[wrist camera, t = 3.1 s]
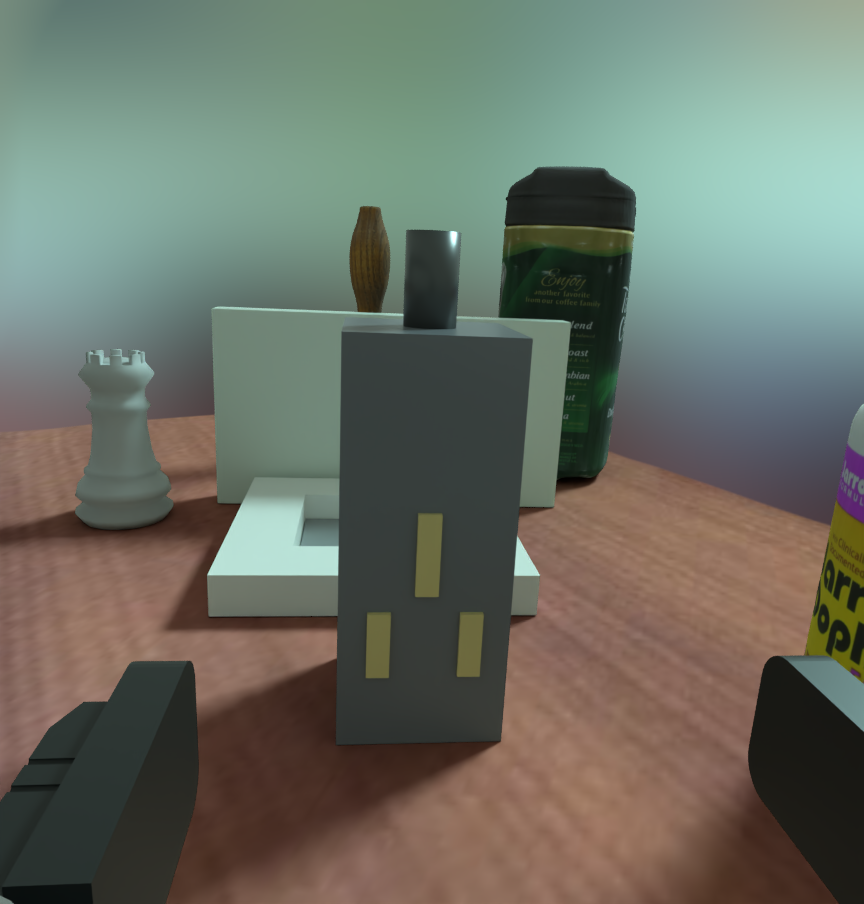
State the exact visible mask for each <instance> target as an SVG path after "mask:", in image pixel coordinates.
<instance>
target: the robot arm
mask: <svg viewBox="0 0 864 904" xmlns="http://www.w3.org/2000/svg"><path fill="white" fill-rule="evenodd" d="M748 762H749V770H750V774H751V778H752V781H753V784H754V787H755V789H756V791H757V793H758V795H759V797H760V798H761V800H762V801H763V802H764V804H765V805H766V806H767V808H768V809H769V810H770V812H771V813H772V814H773V816H774V817H775V818H776V820H777V821H778V823H779V824H780V825H781V827H782V828H783V829H784V831H785V832H786V833H787V835H788V836H789V837H790V839H791V840H792V841H793V843H794V844H795V845H796V847H797V848H798V849H799V851H800V852H801V853H802V855H803V856H804V857H805V859H806V860H807V861H808V863H809V864H810V865H811V867H812V868H813V869H814V871H815V872H816V873H817V875H818V876H819V877H820V879H821V880H822V881H823V883H824V884H825V885H826V887H827V888H828V889H829V891H830V892H831V893H832V895H833V896H834V897H835V899H836V900H837V901H838V903H839V904H864V684H863V683H862V682H861V681H859V680H858V679H857V678H856V677H855V676H853V675H852V674H851V673H850V672H849V671H847V670H846V669H845V668H844V667H843V666H841V665H840V664H839V663H838V662H837V661H835V660H834V659H833V658H831V657H829V656H824V655H811V656H773V657H771V658H770V659H769V660H768V661H767V662H766V664H765V666H764V668H763V672H762V677H761V683H760V688H759V694H758V699H757V705H756V710H755V716H754V721H753V727H752V733H751V738H750V744H749V750H748ZM198 769H199V760H198V736H197V712H196V688H195V672H194V667H193V664H192V662H191V661H135V662H131V663H130V664H129V666H128V667H127V669H126V671H125V672H124V674H123V676H122V678H121V679H120V681H119V683H118V685H117V686H116V688H115V690H114V692H113V693H112V695H111V697H110V699H109V700H108V702H83V703H82V704H80V705H79V706H78V707H77V708H75V709H74V710H73V711H71V712H70V713H69V714H67V715H66V716H65V717H63V718H62V719H61V720H59V721H58V722H57V723H55V724H54V725H53V726H51V727H50V728H49V729H48V731H47V732H46V734H45V735H44V737H43V738H42V740H41V741H40V743H39V744H38V746H37V747H36V749H35V750H34V752H33V753H32V755H31V756H30V758H29V763H28V765H24V767H23V768H22V770H21V771H20V773H19V774H18V776H17V777H16V779H15V780H14V782H13V783H12V785H11V791H10V792H7V793H6V794H5V796H4V797H3V799H2V800H1V802H0V904H166V900H167V897H168V894H169V890H170V887H171V884H172V880H173V877H174V874H175V870H176V867H177V864H178V861H179V857H180V854H181V851H182V847H183V844H184V841H185V837H186V834H187V831H188V827H189V824H190V821H191V818H192V814H193V810H194V805H195V800H196V793H197V785H198Z"/></svg>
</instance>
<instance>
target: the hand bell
mask: <svg viewBox="0 0 864 904" xmlns="http://www.w3.org/2000/svg"><path fill="white" fill-rule="evenodd" d="M389 271H390V247H389V242H388V237H387V233H386V230H385V227H384V224H383V220H382V216H381V209H380V208H379V207H373V206H371V207H370V206H363V207H360V212H359V216H358V220H357V224H356V227H355V229H354V232H353V236H352V240H351V246H350V274H351V282H352V286H353V290H354V294H355V297H356V302H357V308H358V312H367V313H381V310H382V303H383V299H384V295H385V292H386V289H387V285H388V279H389Z"/></svg>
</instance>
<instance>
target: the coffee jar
mask: <svg viewBox="0 0 864 904" xmlns="http://www.w3.org/2000/svg"><path fill="white" fill-rule="evenodd" d="M506 200H507V208H506V218H505V225H506V227H505V231H504V245H503V259H502V275H501V288H500V303H499V316H498V318H518V319H543V320H563V321H567V322H570V323H571V329H570V339H569V350H568V361H567V372H566V382H565V393H564V404H563V415H562V426H561V436H560V447H559V458H558V469H557V479H556V480H558V479H560V478H564V477H583V478H590V477H594V476H596V475H597V474H598V473H599V472H600V471H601V470H602V469H603V467H604V466H605V464H606V461H607V456H608V448H609V441H610V434H611V426H612V419H613V411H614V401H615V392H616V385H617V377H618V370H619V363H620V355H621V348H622V341H623V333H624V325H625V317H626V307H627V300H628V290H629V282H630V271H631V259H632V248H633V238H634V234H633V232H634V225H635V215H636V207H635V205H636V197H635V192H634V191H633V190H632V189H631V188H630V187H629V186H627V185H626V184H624V183H622V182H621V181H619V180H617V179H616V178H614V177H612V176H611V175H609V173H608V172H607V171H606V170H605V169H603V168H592V167H538V168H537V169H535V170H534V172H533V173H532V174H530V175H528V176H526V177H525V178H523V179H521V180H520V181H518V182H516V183H515V184H514V185H513V186H512V187H511V188H510V190H509V193H508V197H506Z"/></svg>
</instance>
